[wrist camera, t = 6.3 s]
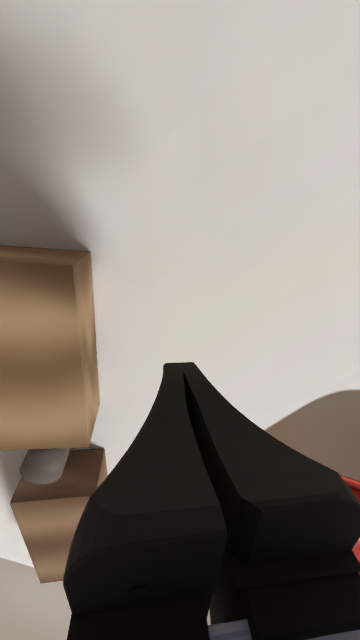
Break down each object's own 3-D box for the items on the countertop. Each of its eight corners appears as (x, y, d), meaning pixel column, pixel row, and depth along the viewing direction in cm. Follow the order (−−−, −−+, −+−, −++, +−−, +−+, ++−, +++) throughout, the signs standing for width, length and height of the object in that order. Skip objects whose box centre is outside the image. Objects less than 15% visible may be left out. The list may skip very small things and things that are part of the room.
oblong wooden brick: (113, 526, 27) (107, 574, 24) (55, 532, 27) (40, 583, 23) (104, 448, 22) (95, 495, 19) (32, 453, 22) (9, 503, 18)
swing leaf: (101, 430, 21) (90, 481, 17) (25, 432, 21) (-5, 487, 17) (90, 251, 15) (70, 267, 11) (-17, 244, 15) (-80, 259, 11)
